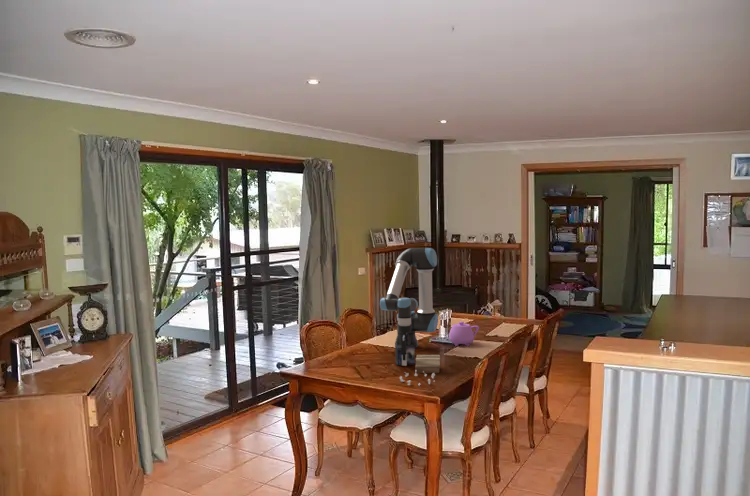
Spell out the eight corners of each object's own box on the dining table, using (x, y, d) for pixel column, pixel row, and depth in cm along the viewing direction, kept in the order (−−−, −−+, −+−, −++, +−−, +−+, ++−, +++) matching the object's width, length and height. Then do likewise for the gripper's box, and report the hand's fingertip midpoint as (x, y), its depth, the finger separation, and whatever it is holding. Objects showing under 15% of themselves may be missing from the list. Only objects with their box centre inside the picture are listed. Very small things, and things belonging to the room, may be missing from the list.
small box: (397, 366, 332) (397, 348, 332) (395, 363, 339) (394, 345, 338) (415, 364, 334) (415, 346, 334) (412, 361, 341) (412, 344, 340)
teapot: (477, 340, 392) (477, 318, 391) (480, 347, 372) (480, 324, 371) (448, 340, 394) (448, 318, 393) (449, 347, 374) (449, 324, 373)
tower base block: (416, 368, 329) (416, 361, 328) (439, 368, 327) (439, 362, 326) (415, 373, 319) (415, 366, 318) (439, 374, 317) (438, 366, 316)
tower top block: (416, 361, 328) (416, 354, 328) (439, 361, 327) (439, 354, 326) (416, 366, 318) (415, 359, 318) (439, 366, 317) (439, 359, 316)
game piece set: (433, 375, 315) (433, 368, 315) (438, 386, 295) (438, 378, 295) (397, 376, 314) (397, 369, 314) (400, 387, 294) (400, 380, 294)
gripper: (400, 321, 346) (400, 358, 347) (395, 328, 326) (396, 368, 327) (412, 321, 345) (413, 359, 346) (409, 328, 324) (409, 368, 326)
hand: (405, 363), depth 337 cm, fingers closed on small box, 8 cm apart
